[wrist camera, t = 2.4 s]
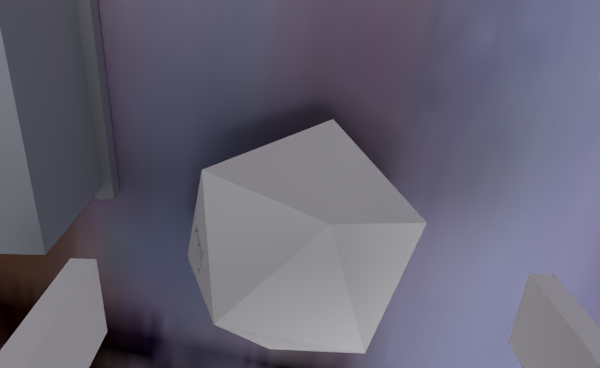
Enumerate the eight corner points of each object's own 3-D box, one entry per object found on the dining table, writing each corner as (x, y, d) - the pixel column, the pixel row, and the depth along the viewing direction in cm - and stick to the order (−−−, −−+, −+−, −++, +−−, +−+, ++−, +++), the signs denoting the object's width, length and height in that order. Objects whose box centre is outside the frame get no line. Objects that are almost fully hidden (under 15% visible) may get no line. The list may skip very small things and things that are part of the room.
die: (308, 57, 20) (120, 157, 13) (491, 171, 18) (373, 359, 11) (267, 188, 25) (120, 304, 19) (402, 288, 23) (288, 457, 17)
